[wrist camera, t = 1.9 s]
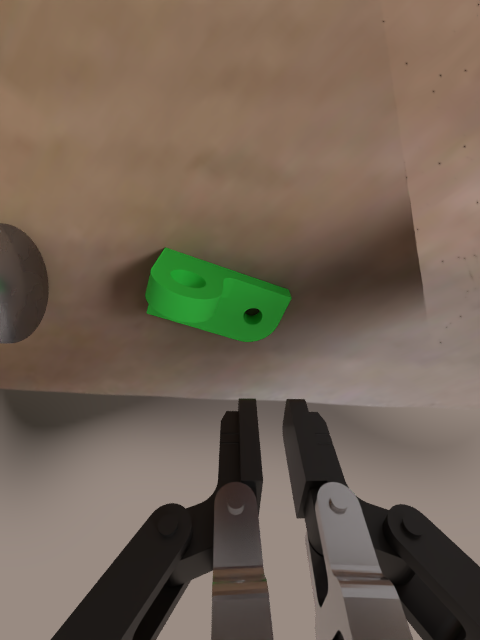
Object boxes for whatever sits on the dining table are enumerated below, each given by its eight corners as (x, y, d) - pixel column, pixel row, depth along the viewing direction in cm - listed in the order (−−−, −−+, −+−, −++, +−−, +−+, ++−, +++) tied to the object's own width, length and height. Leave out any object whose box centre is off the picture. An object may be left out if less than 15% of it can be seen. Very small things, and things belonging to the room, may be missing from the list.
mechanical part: (151, 303, 29) (126, 352, 22) (165, 246, 27) (141, 283, 20) (264, 337, 32) (272, 391, 25) (288, 288, 29) (305, 334, 22)
